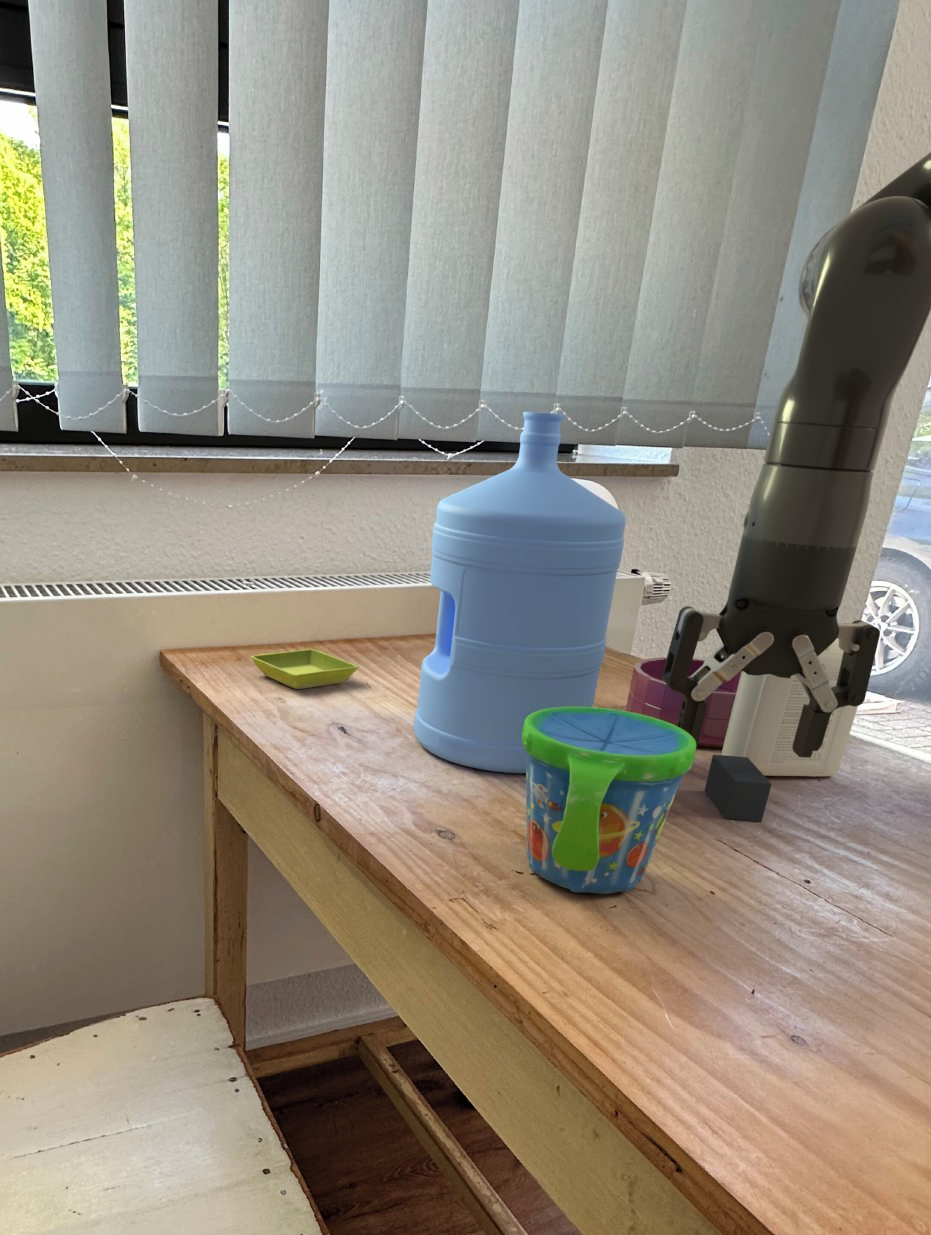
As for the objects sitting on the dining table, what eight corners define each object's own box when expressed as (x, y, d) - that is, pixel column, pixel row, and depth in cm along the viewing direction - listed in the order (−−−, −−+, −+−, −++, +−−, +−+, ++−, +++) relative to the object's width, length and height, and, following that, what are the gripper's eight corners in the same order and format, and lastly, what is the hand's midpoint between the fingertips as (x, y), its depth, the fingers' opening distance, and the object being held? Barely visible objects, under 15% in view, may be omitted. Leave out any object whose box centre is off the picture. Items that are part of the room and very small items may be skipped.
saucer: (312, 665, 110) (313, 647, 109) (359, 684, 103) (360, 665, 102) (248, 674, 105) (248, 655, 104) (293, 694, 98) (293, 675, 98)
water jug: (609, 743, 89) (670, 419, 78) (546, 792, 77) (607, 417, 66) (459, 708, 97) (494, 409, 85) (381, 747, 85) (410, 405, 73)
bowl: (741, 714, 100) (753, 662, 98) (783, 756, 88) (798, 699, 86) (614, 704, 101) (623, 653, 99) (638, 744, 89) (650, 687, 87)
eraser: (704, 790, 79) (712, 754, 78) (738, 793, 79) (747, 757, 78) (724, 818, 74) (734, 780, 73) (761, 822, 74) (772, 783, 72)
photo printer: (815, 762, 87) (853, 628, 82) (845, 779, 83) (886, 640, 78) (711, 762, 86) (743, 626, 81) (736, 780, 82) (772, 637, 77)
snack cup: (542, 816, 72) (562, 686, 68) (685, 851, 68) (717, 715, 64) (466, 896, 60) (486, 743, 56) (635, 946, 55) (670, 784, 51)
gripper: (712, 533, 65) (662, 757, 71) (929, 549, 64) (859, 775, 70) (684, 521, 72) (642, 726, 78) (880, 535, 71) (820, 742, 77)
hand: (744, 749), depth 74 cm, fingers open, 8 cm apart
